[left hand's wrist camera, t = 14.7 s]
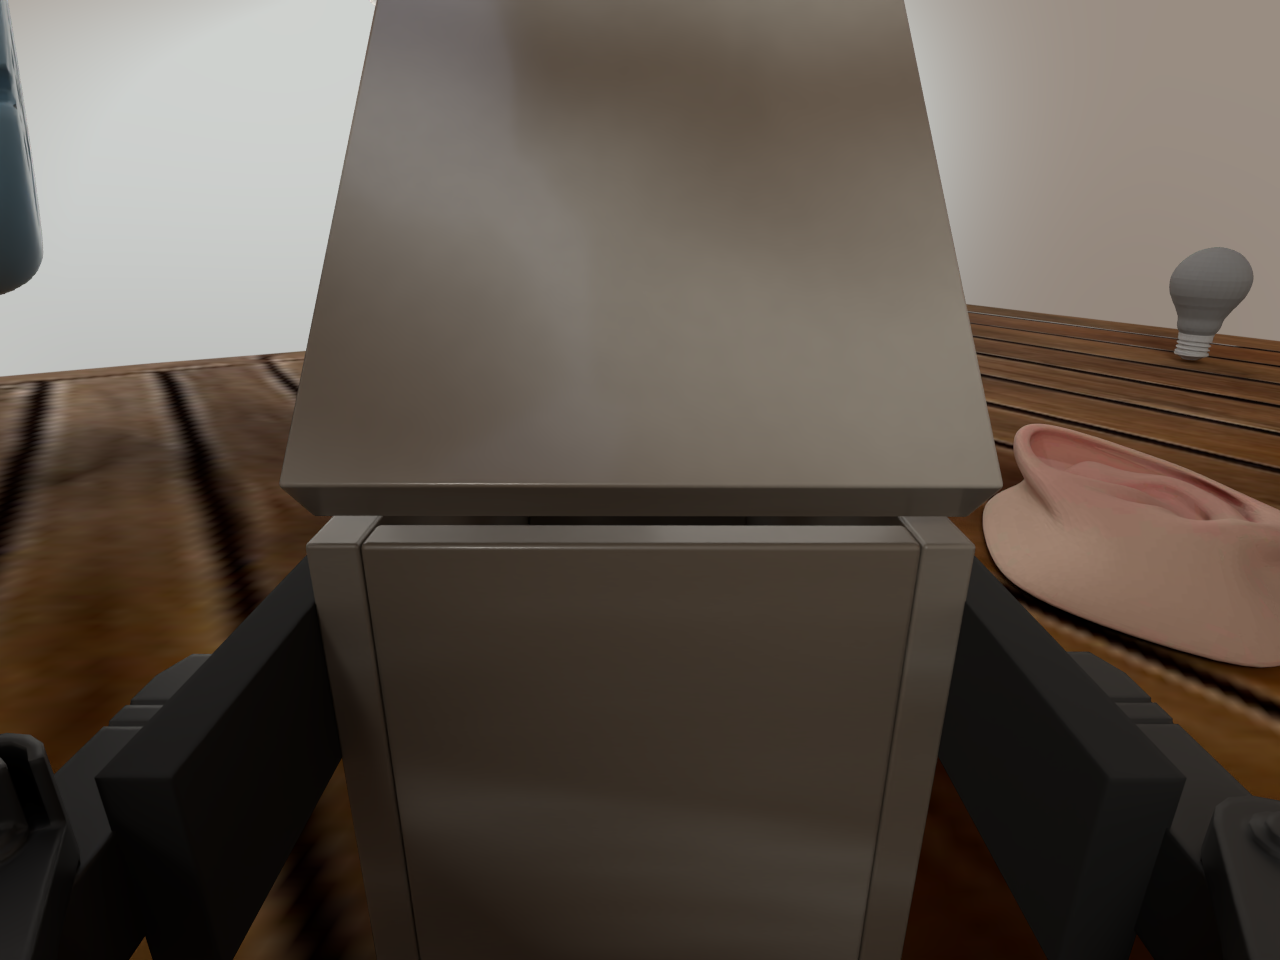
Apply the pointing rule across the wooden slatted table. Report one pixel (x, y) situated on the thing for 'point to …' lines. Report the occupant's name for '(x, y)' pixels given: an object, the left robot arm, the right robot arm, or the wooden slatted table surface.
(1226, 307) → the light bulb
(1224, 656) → the anatomical model
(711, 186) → the lid
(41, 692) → the wooden slatted table surface
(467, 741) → the chest
